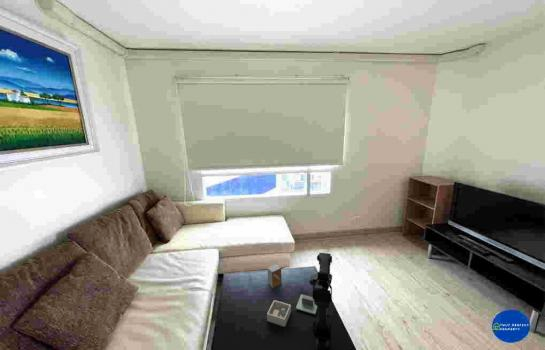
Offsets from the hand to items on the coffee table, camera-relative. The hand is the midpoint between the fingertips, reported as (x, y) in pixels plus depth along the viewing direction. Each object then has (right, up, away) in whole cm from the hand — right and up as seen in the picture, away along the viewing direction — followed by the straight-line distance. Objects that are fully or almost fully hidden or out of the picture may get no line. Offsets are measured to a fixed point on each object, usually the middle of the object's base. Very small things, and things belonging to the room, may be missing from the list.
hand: (324, 297), depth 123 cm
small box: (-28, -8, +32) cm, 43 cm away
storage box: (-26, -13, +4) cm, 30 cm away
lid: (-8, -12, +11) cm, 18 cm away
